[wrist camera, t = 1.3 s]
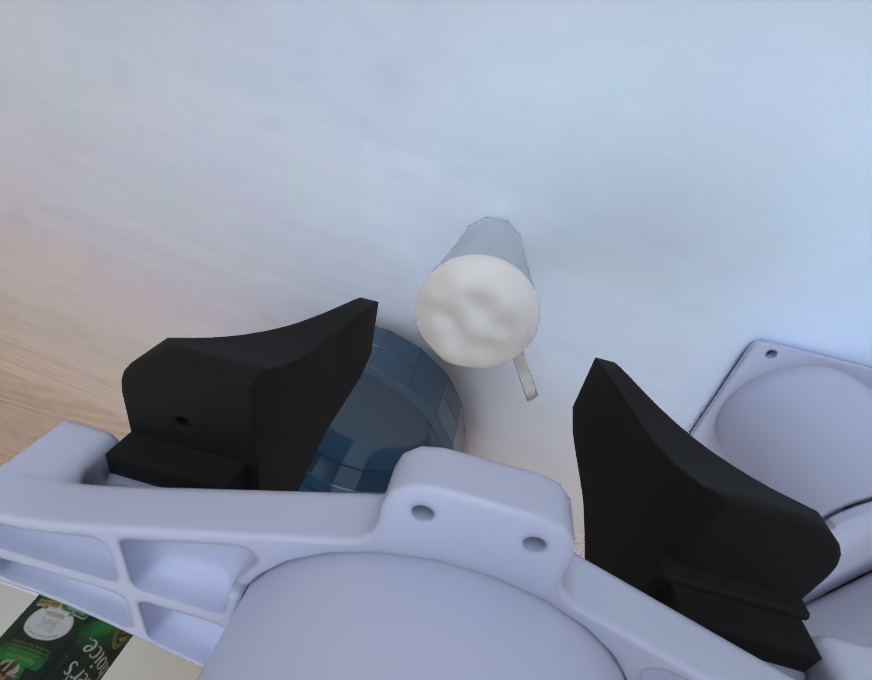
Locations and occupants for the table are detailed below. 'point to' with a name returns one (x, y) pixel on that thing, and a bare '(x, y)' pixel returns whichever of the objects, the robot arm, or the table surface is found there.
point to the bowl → (386, 420)
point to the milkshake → (482, 301)
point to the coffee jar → (58, 644)
